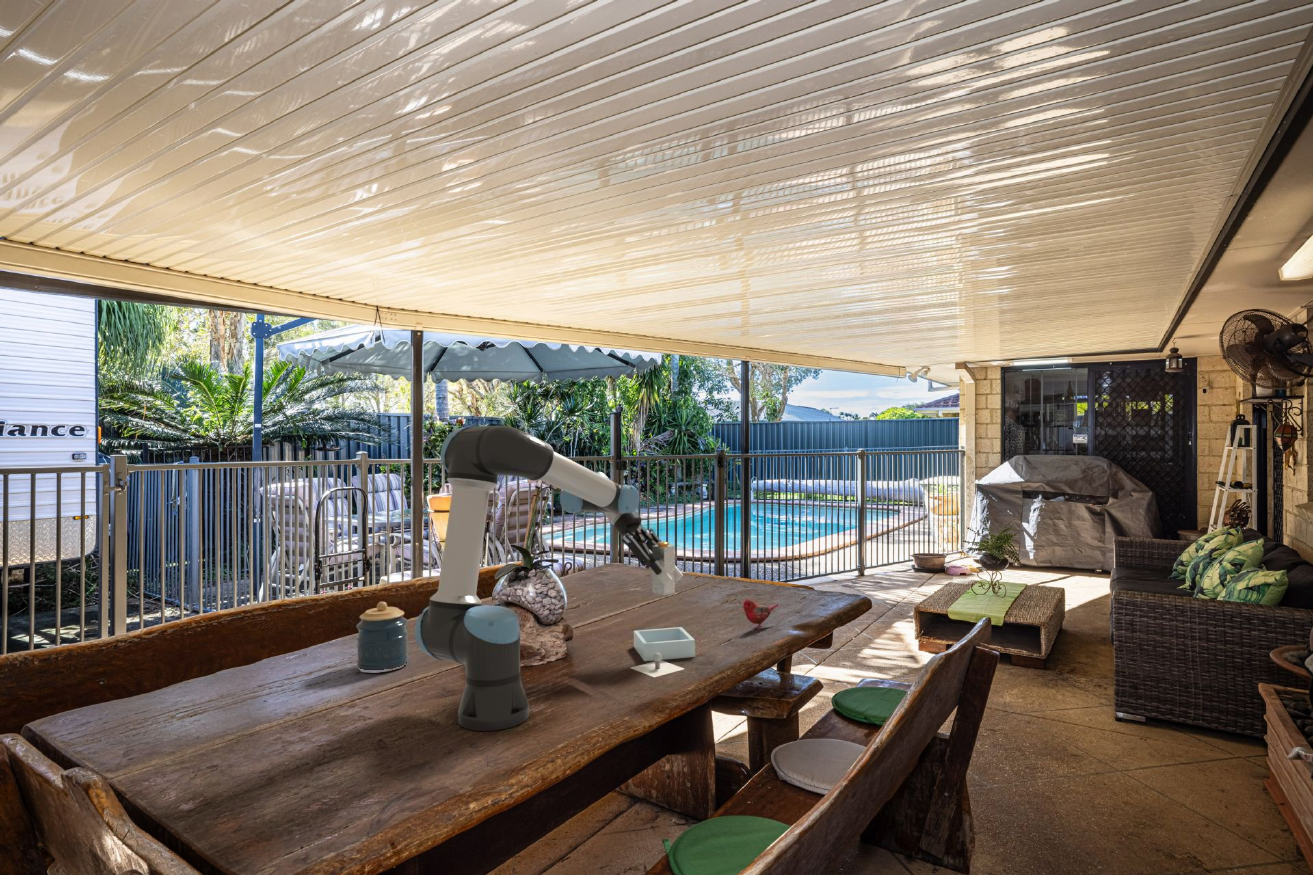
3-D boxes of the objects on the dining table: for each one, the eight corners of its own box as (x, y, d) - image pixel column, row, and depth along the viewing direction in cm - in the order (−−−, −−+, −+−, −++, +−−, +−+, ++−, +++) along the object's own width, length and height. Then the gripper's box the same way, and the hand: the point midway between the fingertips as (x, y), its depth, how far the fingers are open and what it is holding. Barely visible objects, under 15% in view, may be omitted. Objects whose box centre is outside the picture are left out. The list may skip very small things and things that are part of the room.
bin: (644, 666, 192) (643, 643, 192) (634, 651, 206) (633, 630, 206) (695, 662, 196) (694, 639, 196) (681, 647, 209) (681, 627, 209)
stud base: (654, 683, 179) (653, 660, 179) (630, 673, 187) (629, 652, 187) (685, 674, 185) (684, 653, 185) (660, 665, 193) (660, 644, 193)
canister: (364, 677, 188) (363, 609, 188) (351, 665, 198) (350, 601, 198) (414, 667, 195) (413, 602, 195) (400, 656, 206) (399, 594, 206)
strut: (664, 595, 197) (664, 544, 197) (652, 592, 200) (652, 542, 200) (674, 592, 201) (674, 542, 201) (662, 590, 204) (662, 541, 204)
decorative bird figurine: (739, 632, 225) (738, 599, 225) (775, 621, 237) (774, 591, 237) (746, 633, 223) (746, 601, 223) (782, 623, 235) (782, 592, 235)
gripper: (633, 522, 216) (682, 583, 208) (597, 530, 201) (648, 595, 192) (648, 505, 214) (698, 565, 205) (612, 511, 198) (665, 577, 190)
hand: (674, 580), depth 199 cm, fingers closed on strut, 5 cm apart
